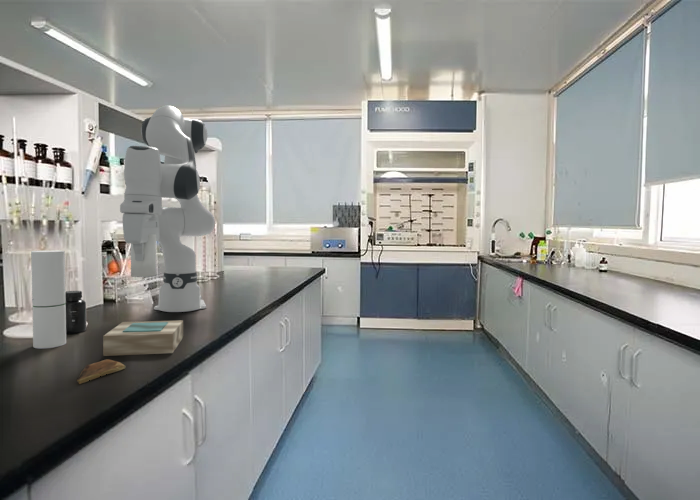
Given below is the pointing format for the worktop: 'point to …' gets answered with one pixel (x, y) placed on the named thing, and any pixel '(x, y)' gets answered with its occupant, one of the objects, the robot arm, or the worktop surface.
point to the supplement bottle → (75, 312)
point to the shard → (99, 370)
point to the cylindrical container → (48, 298)
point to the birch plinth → (143, 338)
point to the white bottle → (145, 260)
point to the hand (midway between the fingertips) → (143, 259)
